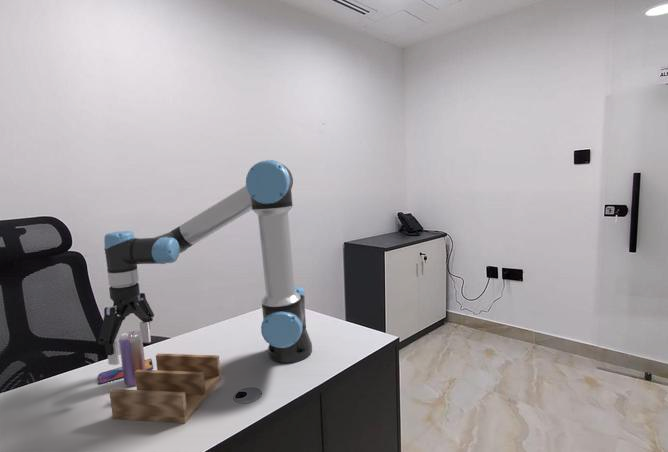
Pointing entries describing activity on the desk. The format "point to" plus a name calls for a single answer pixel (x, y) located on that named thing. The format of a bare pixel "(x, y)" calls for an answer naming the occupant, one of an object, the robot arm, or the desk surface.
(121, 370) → the smartphone
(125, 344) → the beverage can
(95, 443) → the desk surface
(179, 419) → the rack
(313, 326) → the desk surface
